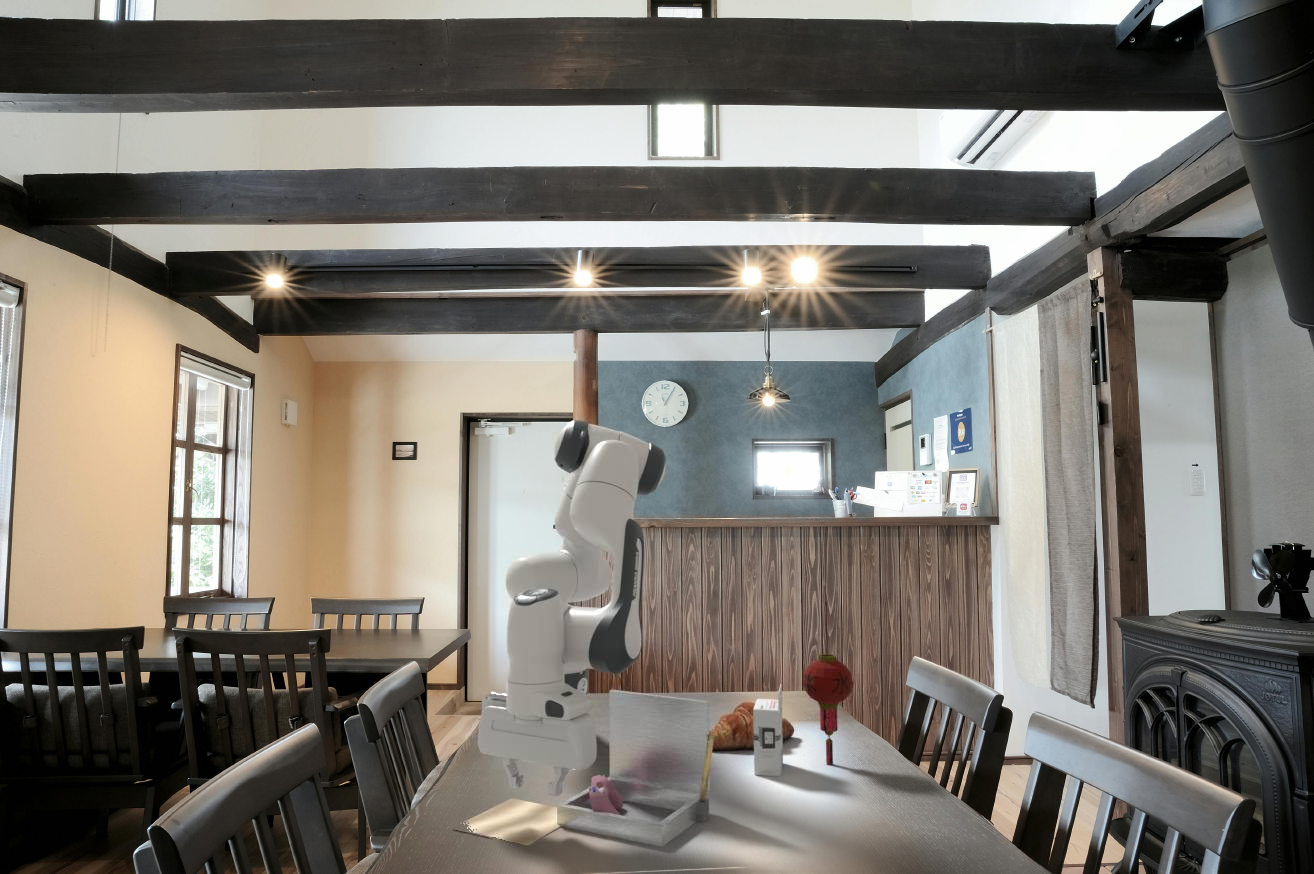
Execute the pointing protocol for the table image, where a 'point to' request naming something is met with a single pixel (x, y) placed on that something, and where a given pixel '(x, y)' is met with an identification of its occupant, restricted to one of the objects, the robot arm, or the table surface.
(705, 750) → the case
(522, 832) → the pad
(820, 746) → the table surface
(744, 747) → the pastry
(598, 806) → the pink rounded figure
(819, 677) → the lantern
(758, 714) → the ink box
